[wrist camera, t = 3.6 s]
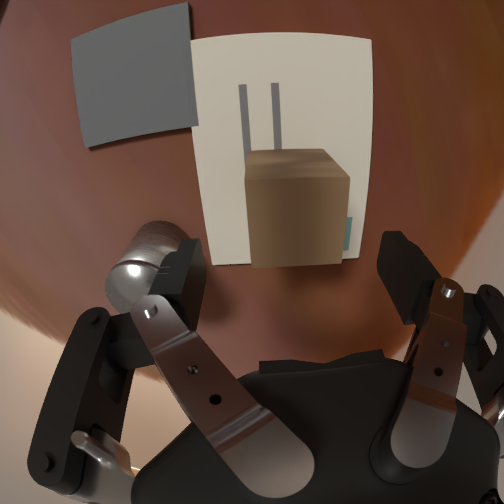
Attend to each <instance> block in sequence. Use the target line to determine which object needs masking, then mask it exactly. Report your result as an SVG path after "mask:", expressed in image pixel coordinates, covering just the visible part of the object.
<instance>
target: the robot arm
mask: <svg viewBox="0 0 504 504" xmlns="http://www.w3.org/2000/svg"><path fill="white" fill-rule="evenodd" d="M377 271H378V274H379V276H380V278H381V279H382V281H383V283H384V285H385V287H386V289H387V291H388V293H389V295H390V297H391V299H392V301H393V303H394V305H395V307H396V309H397V311H398V313H399V315H400V317H401V319H402V321H403V323H404V325H409V324H415V325H416V327H415V329H414V332H413V335H412V338H411V341H410V344H409V347H408V349H407V352H406V355H405V358H404V361H403V362H401V361H398V360H394V359H389V358H385V356H384V354H383V351H382V349H380V350H374V351H367V352H360V353H354V354H351V355H348V356H346V357H343V358H340V359H337V360H335V361H332V362H329V363H314V362H306V361H298V360H275V361H259V370H258V371H254V372H251V373H249V374H246V375H244V376H242V377H240V378H238V379H236V378H235V377H234V376H233V375H232V374H231V372H230V371H229V370H228V369H227V368H226V367H225V365H224V364H223V363H222V362H221V361H220V360H219V358H218V357H217V356H216V355H215V354H214V353H213V351H212V350H211V349H210V348H209V347H208V345H207V344H206V343H205V342H204V340H203V339H202V338H201V337H200V335H199V334H198V333H197V332H196V329H197V324H198V318H199V313H200V308H201V303H202V298H203V293H204V288H205V283H206V269H205V263H204V258H203V252H202V246H201V242H200V239H199V238H198V239H182V240H181V242H180V245H179V247H178V250H177V251H171V252H170V253H169V254H167V255H166V256H165V257H164V258H163V260H162V262H161V264H160V268H159V269H158V271H157V274H156V276H155V278H154V281H153V283H152V285H151V288H150V290H149V292H148V295H147V296H145V297H142V298H140V299H139V300H137V301H136V302H135V303H134V304H133V305H132V307H131V310H130V312H128V313H124V314H119V315H115V316H110V314H109V312H108V311H107V310H106V309H105V308H102V307H95V308H91V309H89V310H87V311H85V312H84V313H83V314H82V315H81V316H80V317H79V318H78V320H77V322H76V324H75V326H74V328H73V331H72V333H71V335H70V337H69V339H68V342H67V344H66V346H65V348H64V351H63V353H62V356H61V358H60V360H59V363H58V365H57V368H56V370H55V373H54V375H53V378H52V380H51V383H50V386H49V388H48V391H47V394H46V397H45V400H44V403H43V406H42V409H41V412H40V415H39V418H38V421H37V424H36V428H35V431H34V435H33V438H32V442H31V446H30V450H29V454H28V459H27V465H28V470H29V473H30V475H31V477H32V478H33V479H34V481H36V482H37V483H38V484H40V485H42V486H44V487H46V488H48V489H51V490H53V491H55V492H56V493H58V494H60V495H63V496H65V497H68V498H71V499H74V500H77V501H79V502H83V503H89V504H504V503H503V502H502V500H501V499H500V497H499V495H498V489H497V477H498V465H499V459H500V458H504V296H503V295H502V293H501V292H500V291H499V290H498V289H496V288H495V287H493V286H491V285H487V284H484V285H481V286H480V287H479V289H478V291H477V294H472V293H464V291H463V289H462V287H461V286H460V285H459V284H458V283H457V282H455V281H454V280H452V279H449V278H442V277H441V275H440V274H439V273H438V271H437V270H436V269H435V267H434V266H433V265H432V263H431V262H430V261H429V259H428V258H427V257H426V256H425V255H424V253H423V252H422V251H421V249H420V248H419V247H418V246H416V245H415V244H414V243H412V242H411V241H408V239H407V238H406V237H405V236H404V234H403V233H402V232H401V231H385V232H384V233H383V235H382V239H381V244H380V249H379V254H378V259H377ZM489 329H490V331H491V333H492V335H493V337H494V338H495V340H496V344H497V349H496V352H495V354H494V355H492V353H491V351H490V349H489V347H488V345H487V343H486V341H485V339H484V336H485V335H486V333H487V332H488V330H489ZM463 362H464V365H465V367H466V369H467V372H468V374H469V377H470V379H471V382H472V384H473V387H474V390H475V393H476V395H477V398H478V401H479V404H480V407H481V410H482V413H481V416H480V415H479V414H478V413H476V412H475V411H473V410H472V409H471V408H469V407H467V406H466V405H465V404H464V403H462V402H461V401H459V400H458V399H457V398H456V394H457V389H458V385H459V380H460V375H461V370H462V363H463ZM154 364H155V365H156V367H157V369H158V370H159V372H160V374H161V375H162V377H163V379H164V380H165V382H166V384H167V385H168V387H169V388H170V390H171V392H172V393H173V395H174V396H175V398H176V400H177V401H178V403H179V404H180V406H181V408H182V409H183V411H184V412H185V414H186V415H187V417H188V418H189V420H190V421H191V423H190V424H189V425H188V426H187V427H186V428H185V429H184V430H183V431H182V432H181V433H180V434H179V435H178V436H177V437H176V438H175V439H174V440H173V441H172V442H170V444H168V445H167V446H166V447H165V448H164V449H163V450H162V451H161V452H160V453H159V454H157V456H155V457H154V458H153V459H152V460H151V461H150V462H149V463H147V464H146V465H145V466H144V467H143V468H142V469H141V470H140V471H139V472H138V474H137V475H136V477H135V475H134V474H133V472H132V470H131V466H130V456H129V453H128V451H127V450H126V448H125V447H124V446H123V445H121V444H120V440H121V434H122V428H123V422H124V417H125V412H126V407H127V401H128V397H129V393H130V388H131V384H132V379H133V375H134V371H135V368H140V367H144V366H149V365H154Z"/></svg>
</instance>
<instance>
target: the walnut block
mask: <svg viewBox="0 0 504 504" xmlns="http://www.w3.org/2000/svg"><path fill="white" fill-rule="evenodd" d="M244 184H245V196H246V209H247V221H248V233H249V245H250V257H251V268H268V267H288V266H306V265H324V264H341V262H342V255H343V247H344V239H345V231H346V222H347V212H348V201H349V189H350V176H349V175H348V174H347V173H346V172H345V171H344V170H343V169H342V168H341V167H340V166H339V165H338V164H337V163H336V161H335V160H334V159H333V158H332V157H331V156H330V155H329V154H328V153H327V152H326V151H325V150H324V149H273V150H253V151H247V159H246V168H245V177H244Z"/></svg>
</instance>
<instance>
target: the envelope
mask: <svg viewBox="0 0 504 504" xmlns="http://www.w3.org/2000/svg"><path fill="white" fill-rule="evenodd" d="M190 41H191V51H190V52H191V53H192V64H193V75H194V79H193V80H194V83H193V84H194V85H195V95H196V104H197V113H198V122H199V126H194V127H192V135H193V143H194V151H195V158H196V165H197V172H198V179H199V186H200V193H201V199H202V206H203V212H204V219H205V225H206V231H207V237H208V243H209V249H210V254H211V260H212V265H223V264H246V263H251V257H250V245H249V233H248V221H247V209H246V196H245V184H244V177H245V168H246V159H247V151H253V150H273V149H324V150H325V151H326V152H327V153H328V154H329V155H330V156H331V157H332V158H333V159H334V160H335V161H336V163H337V164H338V165H339V166H340V167H341V168H342V169H343V170H344V171H345V172H346V173H347V174H348V175H349V176H350V189H349V201H348V212H347V222H346V231H345V239H344V247H343V255H342V259H346V258H358V257H359V251H360V245H361V239H362V232H363V225H364V217H365V210H366V201H367V192H368V182H369V171H370V159H371V143H372V119H373V69H372V46H371V40H370V39H363V38H356V37H349V36H340V35H330V34H316V33H250V34H237V35H226V36H217V37H209V38H202V39H196V40H190ZM186 46H187V45H186ZM189 57H190V56H189ZM187 60H188V59H187ZM186 67H187V66H186ZM190 70H191V69H190ZM186 71H187V70H186ZM187 72H188V71H187ZM187 79H188V78H187ZM191 84H192V83H191ZM188 86H189V85H188ZM193 90H194V89H193ZM189 93H190V91H189ZM193 99H194V98H193ZM190 104H191V103H190ZM191 110H192V109H191ZM195 113H196V112H195ZM193 122H194V121H193ZM193 125H195V124H193Z"/></svg>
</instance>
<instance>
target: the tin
mask: <svg viewBox="0 0 504 504" xmlns="http://www.w3.org/2000/svg"><path fill="white" fill-rule="evenodd" d="M182 239H190V238H189V236H188V235H187V234H186V233H185V232H184V231H183V230H182V229H181V228H180V227H178V226H177V225H175V224H172V223H170V222H166V221H152V222H149V223H147V224H145V225H143V226H142V227H141V228H140V229H139V230H138V232H137V233H136V235H135V236H134V238H133V239H132V241H131V242H130V244H129V245H128V247H127V248H126V250H125V251H124V253H123V254H122V256H121V258H120V259H119V261H118V262H117V264H116V265H115V266H114V267H113V268H112V269H111V271H110V272H109V274H108V276H107V278H106V281H105V291H106V294H107V297H108V299H109V301H110V302H111V304H112V305H113V306H114V307H115V309H116V310H117V311H118V312H120V313H121V314H124V313H128V312H130V310H131V307H132V305H133V304H134V303H135V302H136V301H137V300H139V299H140V298H142V297H145V296H147V295H148V292H149V290H150V288H151V285H152V283H153V281H154V278H155V276H156V274H157V271H158V269H159V268H160V264H161V262H162V260H163V258H164V257H165V256H166V255H167V254H169V253H170V252H171V251H177V250H178V247H179V245H180V242H181V240H182Z"/></svg>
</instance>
